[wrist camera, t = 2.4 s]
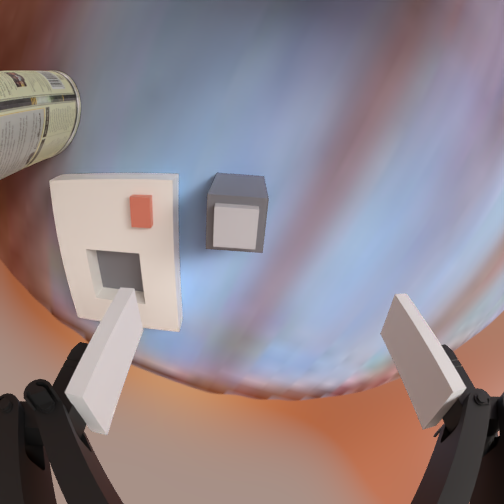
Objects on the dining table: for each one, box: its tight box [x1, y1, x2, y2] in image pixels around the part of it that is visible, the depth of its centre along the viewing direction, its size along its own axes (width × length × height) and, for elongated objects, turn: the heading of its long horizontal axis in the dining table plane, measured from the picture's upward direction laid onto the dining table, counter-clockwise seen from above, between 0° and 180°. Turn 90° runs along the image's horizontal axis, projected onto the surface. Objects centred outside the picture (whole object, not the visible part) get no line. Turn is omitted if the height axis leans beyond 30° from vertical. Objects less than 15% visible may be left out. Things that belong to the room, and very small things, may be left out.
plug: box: [206, 173, 269, 253], centre depth 25 cm, size 4×4×8 cm
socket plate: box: [49, 173, 183, 332], centre depth 30 cm, size 18×14×3 cm
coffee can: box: [0, 70, 81, 180], centre depth 17 cm, size 10×10×14 cm
